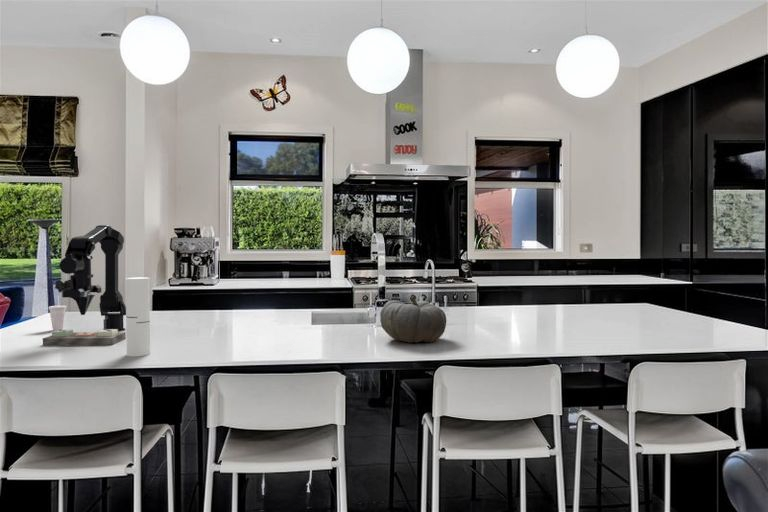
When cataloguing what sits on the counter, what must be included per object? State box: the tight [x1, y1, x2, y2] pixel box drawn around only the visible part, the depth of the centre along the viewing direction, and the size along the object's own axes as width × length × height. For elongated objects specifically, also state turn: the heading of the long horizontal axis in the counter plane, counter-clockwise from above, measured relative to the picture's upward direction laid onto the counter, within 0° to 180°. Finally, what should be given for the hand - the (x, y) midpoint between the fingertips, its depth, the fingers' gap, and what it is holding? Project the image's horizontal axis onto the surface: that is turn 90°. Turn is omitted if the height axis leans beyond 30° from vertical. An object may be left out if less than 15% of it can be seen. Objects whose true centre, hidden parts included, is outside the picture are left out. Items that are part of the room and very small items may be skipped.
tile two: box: [51, 329, 74, 337], centre depth 210 cm, size 5×5×3 cm
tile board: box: [42, 331, 127, 347], centre depth 210 cm, size 24×12×2 cm, turn 94°
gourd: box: [379, 295, 447, 343], centre depth 216 cm, size 25×25×17 cm
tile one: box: [75, 331, 95, 337], centre depth 210 cm, size 5×5×3 cm
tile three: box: [97, 328, 119, 336], centre depth 211 cm, size 5×5×3 cm
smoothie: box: [48, 295, 67, 332], centre depth 237 cm, size 6×6×14 cm
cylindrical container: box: [125, 276, 151, 358], centre depth 189 cm, size 7×7×25 cm
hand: (82, 314), depth 210 cm, fingers closed
